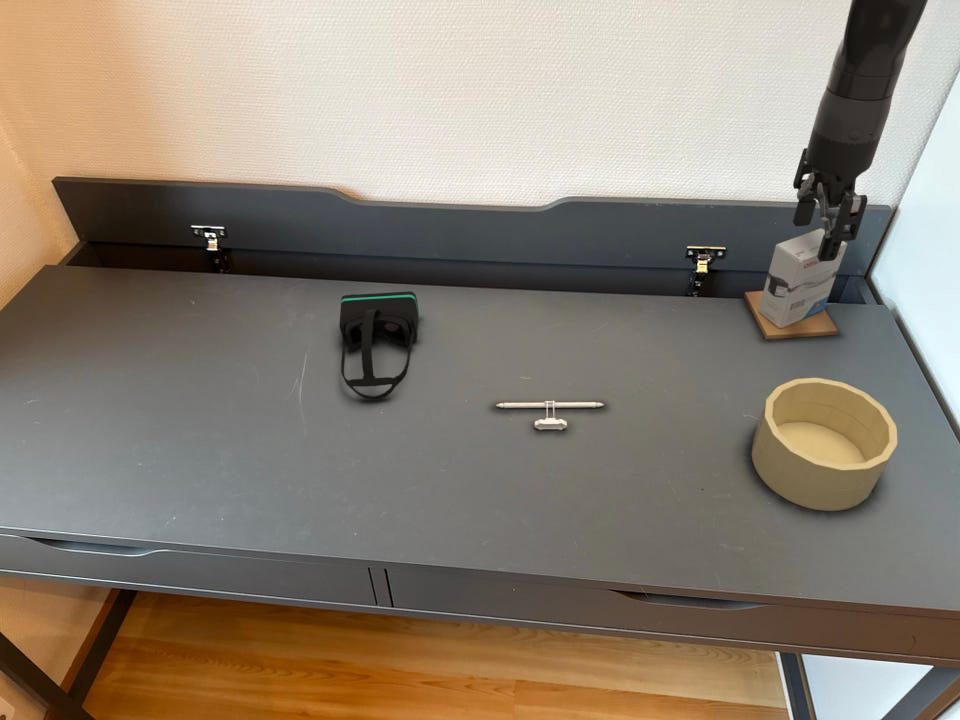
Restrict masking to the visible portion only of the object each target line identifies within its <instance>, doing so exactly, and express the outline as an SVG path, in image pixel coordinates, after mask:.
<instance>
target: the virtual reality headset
mask: <svg viewBox="0 0 960 720" xmlns="http://www.w3.org/2000/svg"><path fill="white" fill-rule="evenodd" d="M339 311H340V312H339V325H338V326H339V330H340V331H339V332H340V333H341V337H342V353H341V361H340V362H341V363H340V365H341V366H340V372H341V376H342V378H343V380H344V382H345V384H346V386H347V387H349V388H350V389H351V390H352V391H353V392H354V393H355V394H357V395H358V396H360V397H361V398H363V399H365V400H370V401H377V400H382V399H385V398H386V397H388V396H389V395H390V394H391V393H392V392H393V391H394V390H395V388H396V387H397V386H398V385H399V384H400V383H401V382H402V381H403V380H404V379H405V377H406V376H407V373H408V369H409V366H410V359H411V352H412V348H413V343H414V342H415V341H417V339H418V327H419V315H420V313H419V304H418V299H417V295H416V293H414V291H411V290H410V291H395V292H394V291H391V292H379V293H360V294H359V293H358V294H345V295H342V297H341V298H340V310H339ZM381 336H384V337H386V338H388V341H389V342H391V343H395V344H398V345H400V346H403V347H405V348H407V349H408V350H407V355H406V363H405V365H404V368H403V369H402V371H401V372H400V374H398V375H395V376H394V377H392V376H386V377H385V376H383V377H376V375H374V368H373V350H372V349H373V348H372V343H373V342H374V339H376V338H378V337H381ZM346 345H347V347H348V350H349V351H352V352H354V351H356V350H358V349H360V350H361V366H362V368H361V369H362V373H363V375H362V378H351V379H347V378H346V375H345V362H346V361H345V360H346ZM388 385H391V386H390V388H389V389H387V390H386V391H384V392H383V393H381V394H378V395H367V394H364V393H361V392H360V391H358V390H357V389H355V387H357V388H358V387H359V388H361V387H362V388H365V387H367V388H368V387H379V386H388Z"/></svg>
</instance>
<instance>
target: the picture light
mask: <svg viewBox="0 0 960 720" xmlns="http://www.w3.org/2000/svg"><path fill="white" fill-rule="evenodd" d="M602 406H604V403H601V402H596V401H592V402H591V401H590V402H587V401H586V402H579V401H577V402H575V401H574V402H556V401H555V400H554V399H553V400H551V401H550V400H545V401H544V402H501V403H497V404H496V405H495V407H498V408H501V409H503V408H504V409H529V408H530V409H531V408H533V409H534V408H536V409H539V408H540V409H541V408H546V417H545V418H544V419H542V418H540V419H538V420H535V421H534V428H535V429H538V430H540V431H542V430H559V431H563V429H567V427H568V422H567V421H566V420H564V419H562V418H559V419H557V418H556V417H555V408H592V409H593V408H594V409H595V408H600V407H602ZM548 408H550V409H551V408H552V414H553V416H552V417H548V416H549V411H548V410H549V409H548Z"/></svg>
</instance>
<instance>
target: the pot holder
mask: <svg viewBox="0 0 960 720" xmlns="http://www.w3.org/2000/svg"><path fill="white" fill-rule="evenodd" d="M763 291H764V290H757V291H756V290H755V291H745V292H744V294H743V297H744V300H745V301H746V303H747V305H748V307H749V309H750V311H751V314H752V315H753V317H754V319H755V321H756V323H757V325H758V326H759V329H760V330H761V333H762V334H763V337H764V338H765V340H777V339H778V340H780V339H794V338H809V337H822V336H823V337H825V336H837V334H838V331H839V330H838V328H837V327H836V325H835V324H834V322H833V321H832V319H831V317H830V316H829V314H828V312H827V311H826V310H825V308H824V310H823V311H821V312H818V313H816V314H814V315H811V316H809V317H807V318H804V319H802V320H800V321H797V322H795V323H793V324H791V325H788V326H786V327H784V328H779V327H777V326H776V325H775V324H774V323H772V322H771V321H770V320H769V319H767V318H766V317H765V316H764V315H762V314H761V313H760V312H759V311H758V309H759V305H760V302H761V298H762V295H763Z"/></svg>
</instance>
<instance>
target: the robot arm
mask: <svg viewBox="0 0 960 720" xmlns="http://www.w3.org/2000/svg"><path fill="white" fill-rule="evenodd" d="M928 2H929V0H851V1H850V6H849V9H848V15H847V20H846V24H845V27H844V32H843V37H842V39H841V40H840V42H839V44H838V47H837V50H836V51H835V56H834V57H833V58H834V59H833V61H832V66H831V68H830V73H829V75H828V79H827V83H826V87H825V89H824V92H823V94H822V97H821V99H820V101H819V103H818V107H817V112H816V115H815V119H814V123H813V126H812V129H811V133H810V137H809V141H808V144H807V147H805V148H803V149H802V153H801V156H800V159H799V163H798V166H797V169H796V172H795V175H794V178H793V182H792V187H793V189H794V190H798V191H796V199H797V205H796V209H795V211H794V216H793V219H792V223H793V225H794V226H795V227H806V226H809V225H810V224H811V222H812V220H813V216H814V213H815V210H816V206H817V202H818V205H819V217H820V219H821V220H822V221H823V224H824V227H823V229H824V230H825V235H823V239H822V242H821V245H820V248H819V251H818V254H817V258H818V259H819V261H821V262H823V261H833V260H835V259H836V257H837V255H838V252H839V249H840V246H841V243H842V241H844V242H850V241H855V240H856V239H857V236H858V234H859V231H860V226H861V225H862V224H861V223H862V221H863V220H862V219H863V217H864V213H865V211H866V208H867V204H868V202H869V201H868V196H867V195H866V194H859V195H858V193H856V192H855V190H856V181H857V178H858V177H859V176H860V175H861V174H863V173H865V172H866V171H868V170H869V169H870V167H871V166H872V164H873V161H874V158H875V155H876V152H877V150H878V146H879V144H880V142H881V137H882V135H883V132H884V129H885V127H886V123H887V120H888V118H889V114H890V112H891V111H890V110H891V106H892V100H893V96H894V92H895V89H896V87H897V83H898V81H899V77H900V76H901V72H902V69H903V66H904V63H905V59H906V55H907V50H908V47H909V44H910V42H911V41H912V39H913V36H914V34H915V32H916V30H917V28H918V26H919V24H920V22H921V18H922V16H923V14H924V12H925V9H926V7H927V4H928ZM805 175H808V177H807V178H805V179H803V178H804V176H805ZM837 208H838V211H830V209H837ZM834 219H836V220H835V223H834Z"/></svg>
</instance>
